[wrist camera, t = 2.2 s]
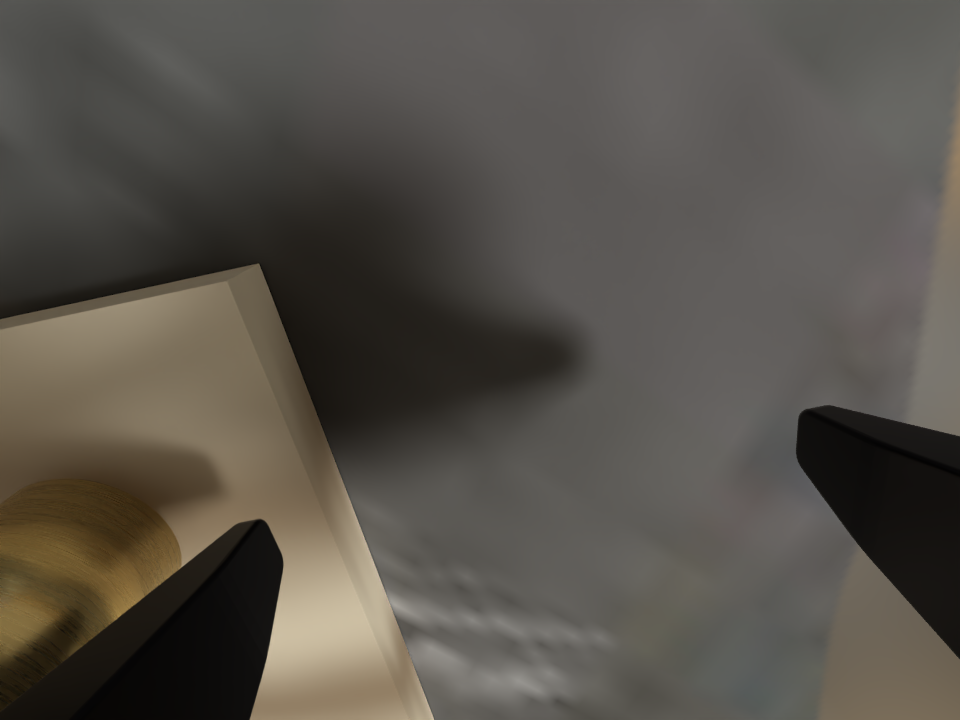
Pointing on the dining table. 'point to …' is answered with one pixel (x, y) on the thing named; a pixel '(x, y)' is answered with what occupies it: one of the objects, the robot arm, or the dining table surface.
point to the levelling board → (213, 467)
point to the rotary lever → (72, 571)
